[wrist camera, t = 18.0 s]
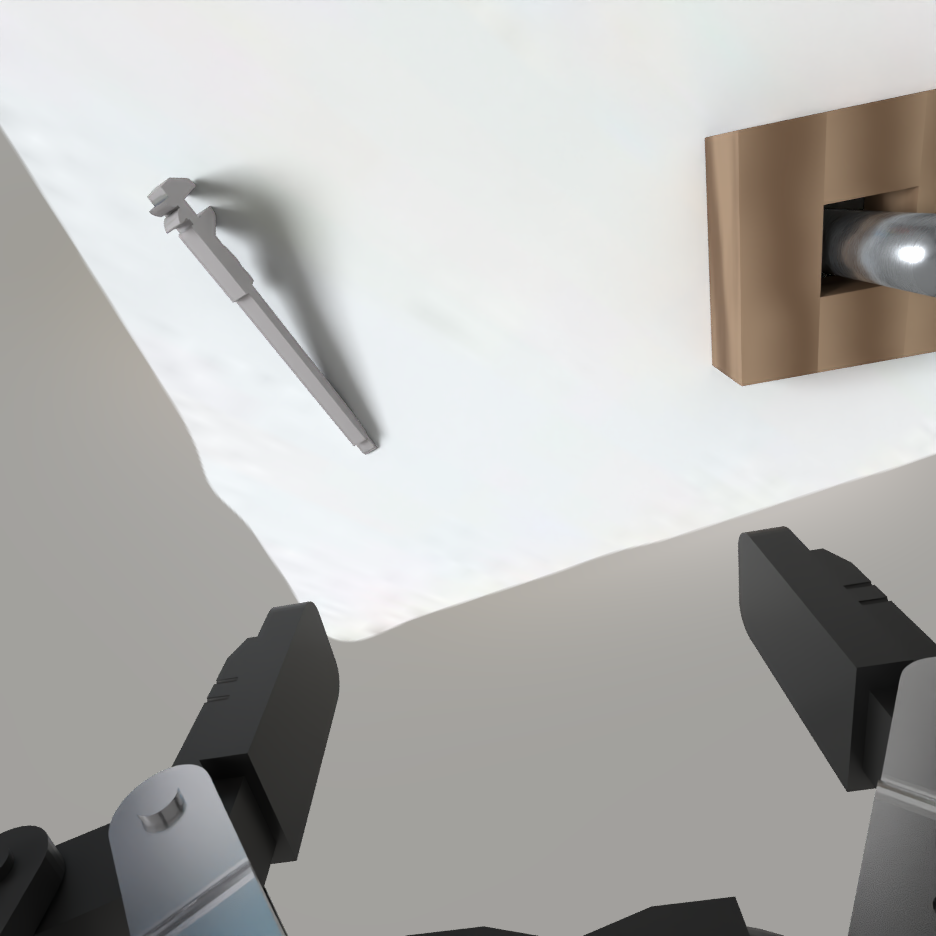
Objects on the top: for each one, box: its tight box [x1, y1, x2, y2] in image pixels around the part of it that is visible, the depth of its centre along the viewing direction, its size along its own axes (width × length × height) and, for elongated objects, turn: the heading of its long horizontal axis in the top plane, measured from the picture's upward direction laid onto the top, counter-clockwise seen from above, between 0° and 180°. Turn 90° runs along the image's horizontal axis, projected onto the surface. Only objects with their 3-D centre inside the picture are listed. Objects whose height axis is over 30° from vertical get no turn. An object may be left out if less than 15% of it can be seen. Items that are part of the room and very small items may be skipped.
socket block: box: [705, 89, 936, 386], centre depth 37 cm, size 14×14×5 cm
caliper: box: [147, 178, 377, 455], centre depth 39 cm, size 20×1×6 cm, turn 30°
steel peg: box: [821, 209, 936, 297], centre depth 34 cm, size 4×4×12 cm
